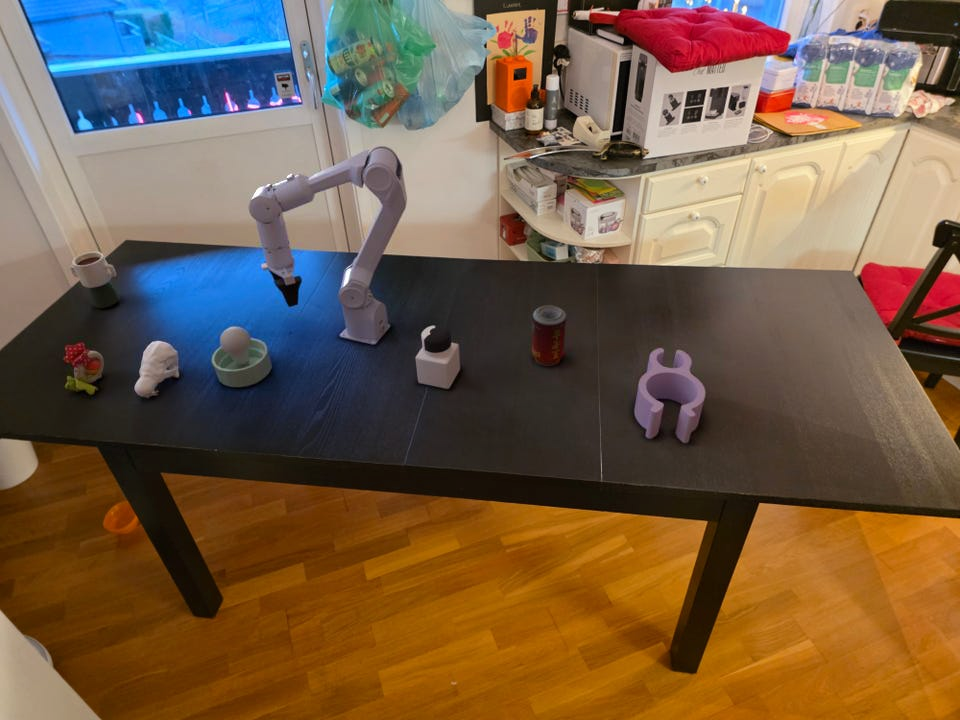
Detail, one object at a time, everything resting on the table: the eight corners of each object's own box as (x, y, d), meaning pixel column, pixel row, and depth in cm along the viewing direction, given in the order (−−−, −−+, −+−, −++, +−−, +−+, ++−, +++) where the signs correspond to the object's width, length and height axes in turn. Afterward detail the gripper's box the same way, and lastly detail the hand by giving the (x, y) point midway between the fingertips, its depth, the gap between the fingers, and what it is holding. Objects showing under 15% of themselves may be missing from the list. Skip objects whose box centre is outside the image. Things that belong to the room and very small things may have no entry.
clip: (635, 371, 142) (639, 345, 137) (695, 377, 140) (701, 351, 135) (633, 436, 126) (638, 410, 122) (701, 444, 124) (708, 418, 120)
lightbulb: (251, 380, 142) (238, 339, 135) (225, 377, 143) (211, 336, 136) (263, 362, 146) (252, 322, 140) (238, 359, 147) (225, 319, 141)
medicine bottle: (460, 369, 144) (458, 324, 136) (448, 390, 138) (445, 344, 131) (430, 363, 146) (426, 318, 138) (417, 383, 140) (412, 338, 133)
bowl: (282, 361, 147) (278, 344, 144) (251, 394, 139) (245, 376, 136) (240, 351, 151) (234, 333, 148) (206, 382, 143) (200, 364, 139)
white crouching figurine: (174, 338, 141) (143, 377, 132) (188, 366, 146) (159, 406, 138) (147, 335, 142) (115, 374, 133) (162, 363, 148) (132, 403, 139)
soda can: (547, 344, 150) (550, 299, 142) (570, 358, 146) (573, 313, 138) (524, 356, 147) (525, 311, 139) (546, 372, 142) (549, 326, 135)
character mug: (134, 295, 171) (116, 251, 163) (122, 311, 165) (102, 266, 157) (93, 295, 171) (73, 251, 163) (80, 311, 166) (58, 266, 158)
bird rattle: (89, 383, 146) (57, 396, 138) (84, 335, 144) (51, 344, 135) (114, 386, 145) (84, 399, 137) (110, 338, 143) (78, 347, 134)
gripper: (248, 234, 144) (262, 286, 153) (265, 263, 134) (279, 317, 143) (280, 226, 147) (292, 278, 155) (299, 254, 137) (311, 308, 145)
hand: (288, 297), depth 149 cm, fingers open, 7 cm apart
